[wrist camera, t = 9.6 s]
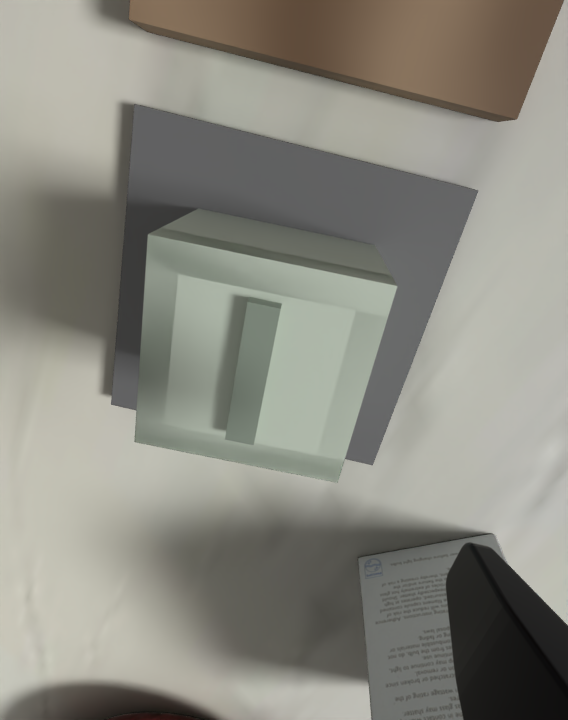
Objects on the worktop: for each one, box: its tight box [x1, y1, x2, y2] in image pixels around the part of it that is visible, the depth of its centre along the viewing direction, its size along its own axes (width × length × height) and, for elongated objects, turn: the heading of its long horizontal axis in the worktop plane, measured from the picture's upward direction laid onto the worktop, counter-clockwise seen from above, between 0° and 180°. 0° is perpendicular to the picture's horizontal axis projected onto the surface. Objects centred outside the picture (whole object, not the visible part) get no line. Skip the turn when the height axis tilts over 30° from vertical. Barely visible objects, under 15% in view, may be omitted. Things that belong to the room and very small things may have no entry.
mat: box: [111, 104, 478, 465], centre depth 17 cm, size 11×11×1 cm
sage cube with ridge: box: [135, 209, 397, 483], centre depth 14 cm, size 6×6×5 cm
